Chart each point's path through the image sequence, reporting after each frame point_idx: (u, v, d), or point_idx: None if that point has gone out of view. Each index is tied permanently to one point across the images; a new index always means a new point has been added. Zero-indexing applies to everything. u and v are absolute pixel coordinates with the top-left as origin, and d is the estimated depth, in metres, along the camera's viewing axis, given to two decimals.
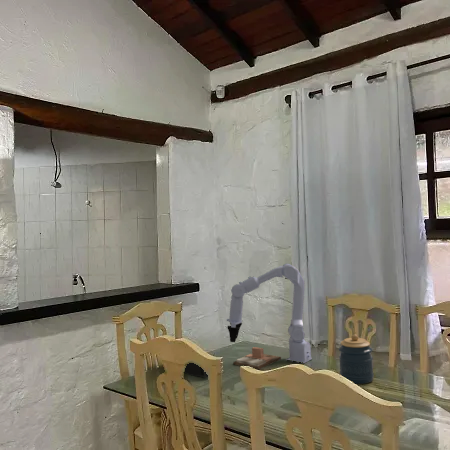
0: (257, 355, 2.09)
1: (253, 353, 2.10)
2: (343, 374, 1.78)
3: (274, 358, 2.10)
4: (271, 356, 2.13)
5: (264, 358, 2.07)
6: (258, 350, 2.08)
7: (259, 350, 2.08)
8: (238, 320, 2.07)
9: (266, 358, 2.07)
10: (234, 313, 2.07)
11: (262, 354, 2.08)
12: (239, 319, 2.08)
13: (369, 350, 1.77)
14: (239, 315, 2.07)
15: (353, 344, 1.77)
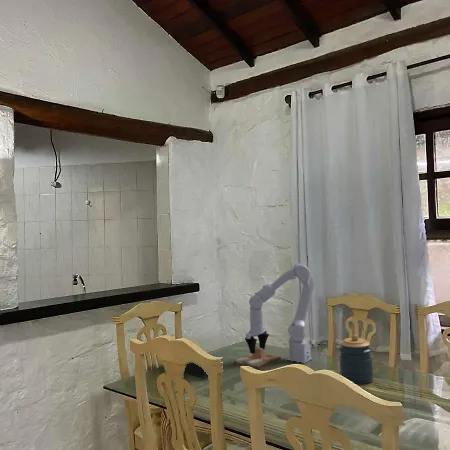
0: (257, 355, 2.09)
1: None
2: (343, 374, 1.78)
3: (274, 358, 2.10)
4: (271, 356, 2.13)
5: (264, 358, 2.07)
6: (258, 350, 2.08)
7: (259, 350, 2.08)
8: (256, 331, 2.07)
9: (266, 358, 2.07)
10: (252, 324, 2.08)
11: (262, 354, 2.08)
12: (257, 330, 2.07)
13: (369, 350, 1.77)
14: (257, 326, 2.07)
15: (353, 344, 1.77)
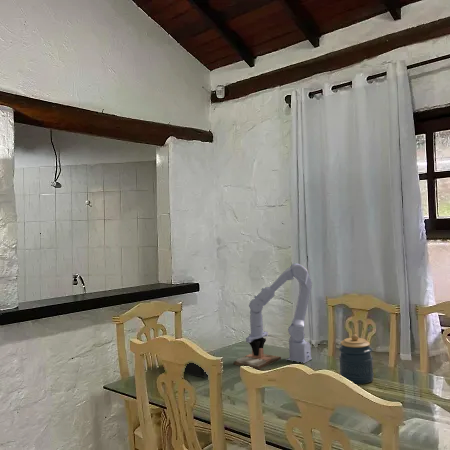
0: None
1: (253, 353, 2.10)
2: (343, 374, 1.78)
3: (274, 358, 2.10)
4: (271, 356, 2.13)
5: (264, 358, 2.07)
6: None
7: (259, 350, 2.08)
8: (257, 335, 2.07)
9: (266, 358, 2.07)
10: (252, 328, 2.08)
11: (262, 354, 2.08)
12: (258, 334, 2.07)
13: (369, 350, 1.77)
14: (257, 330, 2.07)
15: (353, 344, 1.77)
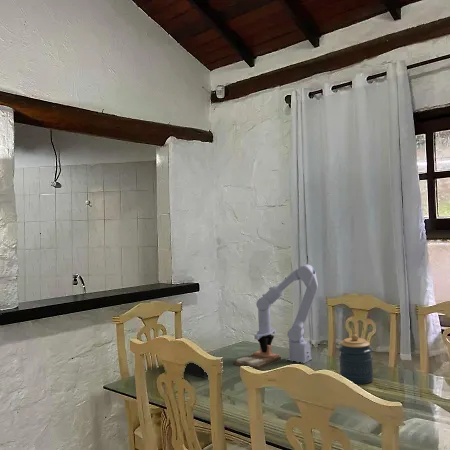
0: None
1: (261, 350, 2.15)
2: (343, 374, 1.78)
3: None
4: None
5: (272, 355, 2.12)
6: None
7: (267, 347, 2.13)
8: (265, 332, 2.12)
9: (274, 355, 2.12)
10: (260, 325, 2.13)
11: (270, 351, 2.13)
12: (266, 331, 2.12)
13: (369, 350, 1.77)
14: (265, 327, 2.12)
15: (353, 344, 1.77)
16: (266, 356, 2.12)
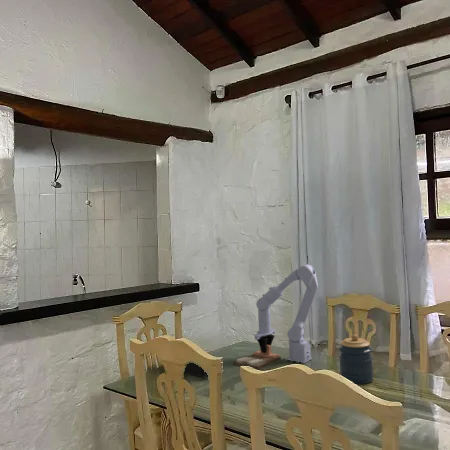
0: None
1: None
2: (343, 374, 1.78)
3: None
4: None
5: (272, 355, 2.12)
6: None
7: (267, 347, 2.13)
8: (265, 332, 2.12)
9: (274, 355, 2.12)
10: (260, 325, 2.13)
11: (270, 351, 2.13)
12: (266, 331, 2.12)
13: (369, 350, 1.77)
14: (265, 327, 2.12)
15: (353, 344, 1.77)
16: (266, 356, 2.12)
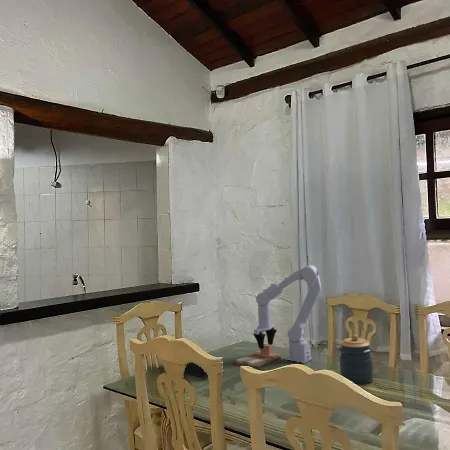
0: (265, 352, 2.14)
1: (261, 350, 2.15)
2: (343, 374, 1.78)
3: None
4: None
5: (272, 355, 2.12)
6: (266, 347, 2.13)
7: (267, 347, 2.13)
8: (264, 327, 2.12)
9: (274, 355, 2.12)
10: (260, 320, 2.13)
11: (270, 351, 2.13)
12: (266, 326, 2.12)
13: (369, 350, 1.77)
14: (265, 322, 2.12)
15: (353, 344, 1.77)
16: (266, 356, 2.12)
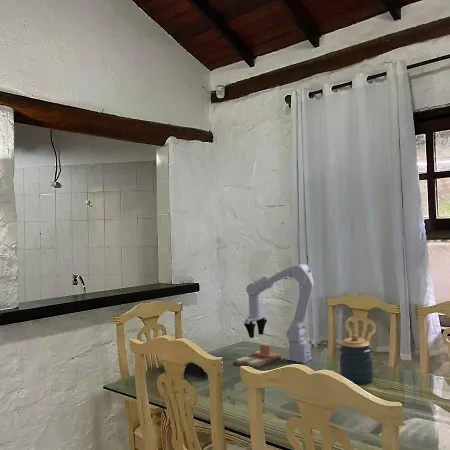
0: (265, 352, 2.14)
1: (261, 350, 2.15)
2: (343, 374, 1.78)
3: None
4: None
5: (272, 355, 2.12)
6: (266, 347, 2.13)
7: (267, 347, 2.13)
8: (255, 317, 2.17)
9: (274, 355, 2.12)
10: (251, 310, 2.18)
11: (270, 351, 2.13)
12: (256, 316, 2.17)
13: (369, 350, 1.77)
14: (255, 312, 2.17)
15: (353, 344, 1.77)
16: (266, 356, 2.12)
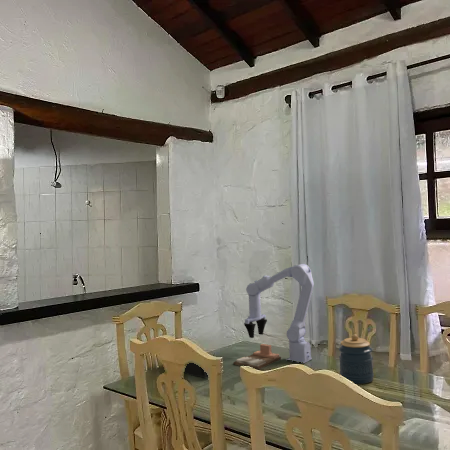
0: (265, 352, 2.14)
1: (261, 350, 2.15)
2: (343, 374, 1.78)
3: None
4: None
5: (272, 355, 2.12)
6: (266, 347, 2.13)
7: (267, 347, 2.13)
8: (255, 317, 2.17)
9: (274, 355, 2.12)
10: (251, 310, 2.18)
11: (270, 351, 2.13)
12: (256, 316, 2.17)
13: (369, 350, 1.77)
14: (255, 312, 2.17)
15: (353, 344, 1.77)
16: (266, 356, 2.12)
